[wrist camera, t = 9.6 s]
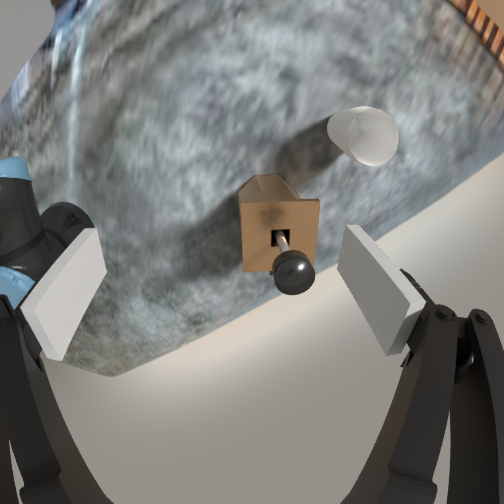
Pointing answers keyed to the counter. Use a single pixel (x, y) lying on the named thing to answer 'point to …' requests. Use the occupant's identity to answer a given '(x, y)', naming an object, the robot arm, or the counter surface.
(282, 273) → the plunger
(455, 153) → the counter surface
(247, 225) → the block
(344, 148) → the cup
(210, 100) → the counter surface
